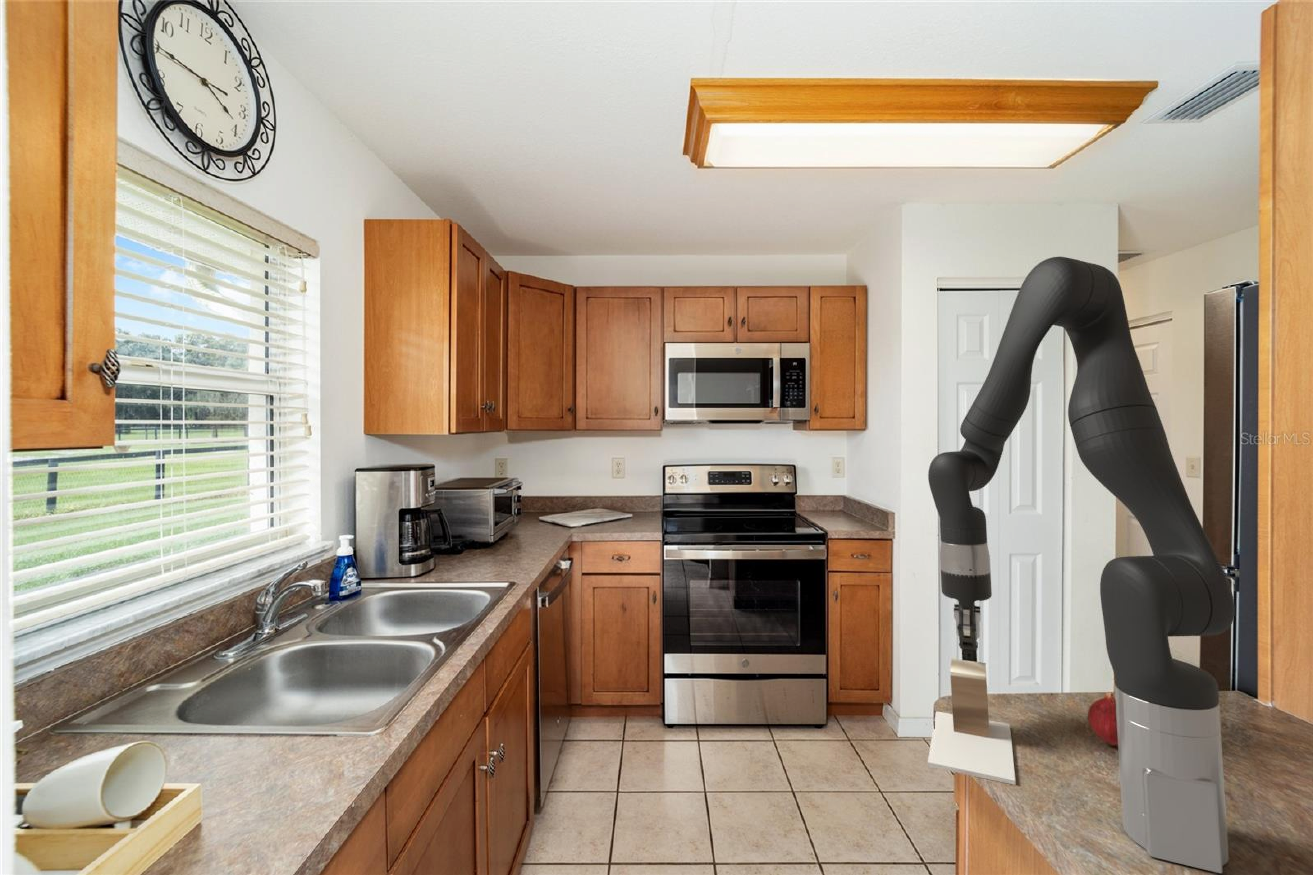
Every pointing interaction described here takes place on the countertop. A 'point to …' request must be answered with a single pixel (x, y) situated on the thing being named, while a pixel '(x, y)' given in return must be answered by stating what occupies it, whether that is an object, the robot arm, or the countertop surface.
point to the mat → (972, 750)
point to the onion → (1104, 719)
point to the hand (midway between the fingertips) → (970, 670)
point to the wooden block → (969, 697)
